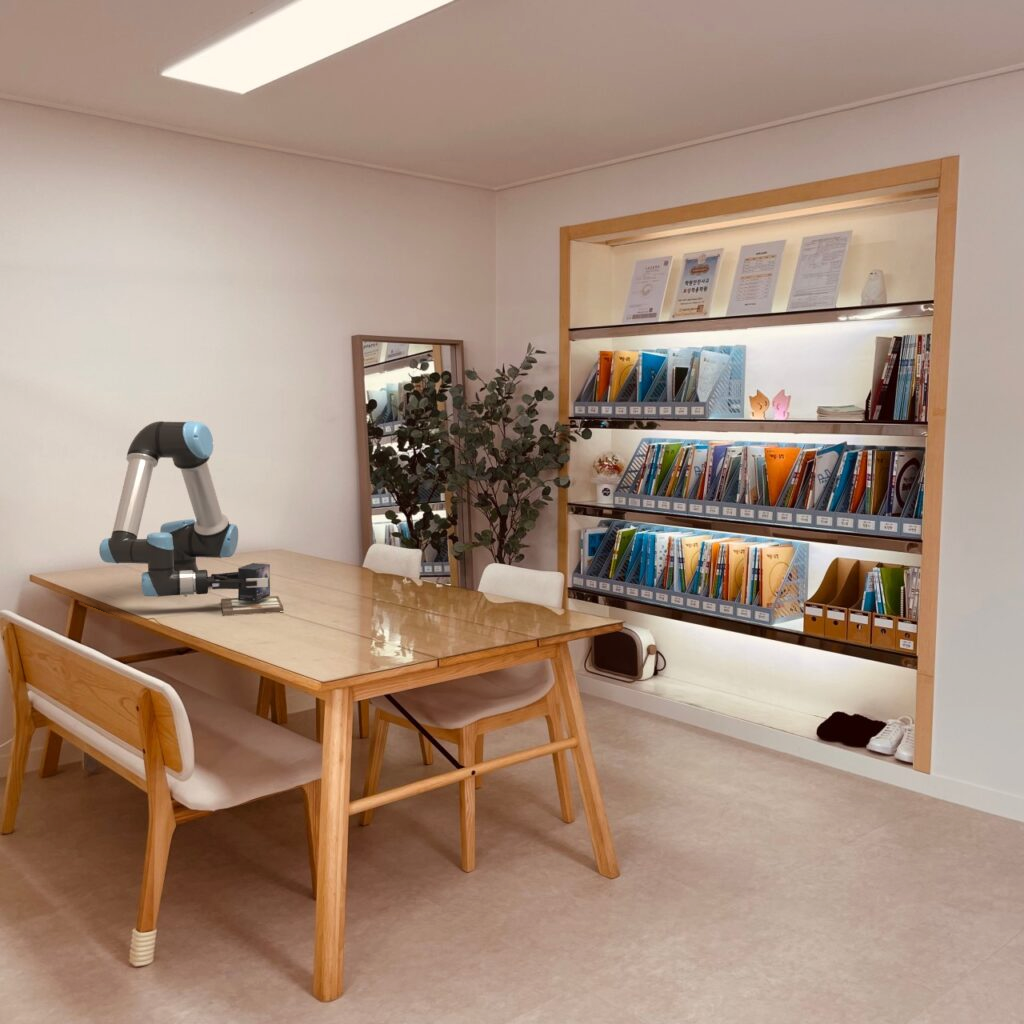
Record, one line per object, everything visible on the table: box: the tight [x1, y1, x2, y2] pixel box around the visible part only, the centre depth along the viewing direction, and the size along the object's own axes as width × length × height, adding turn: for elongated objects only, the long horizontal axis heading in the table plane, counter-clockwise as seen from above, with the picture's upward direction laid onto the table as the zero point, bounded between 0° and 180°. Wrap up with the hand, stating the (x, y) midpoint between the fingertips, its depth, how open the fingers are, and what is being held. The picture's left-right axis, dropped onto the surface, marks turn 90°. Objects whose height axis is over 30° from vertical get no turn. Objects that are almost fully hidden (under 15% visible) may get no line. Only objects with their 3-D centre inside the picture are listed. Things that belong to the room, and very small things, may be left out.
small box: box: [237, 562, 271, 602], centre depth 330 cm, size 11×6×10 cm, turn 168°
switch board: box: [220, 595, 284, 616], centre depth 331 cm, size 20×18×2 cm
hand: (266, 578), depth 331 cm, fingers closed on small box, 12 cm apart
